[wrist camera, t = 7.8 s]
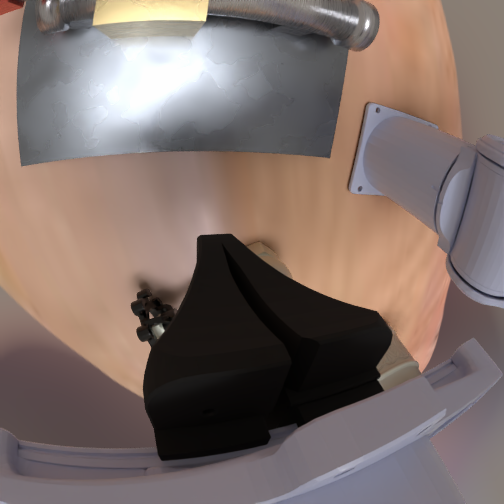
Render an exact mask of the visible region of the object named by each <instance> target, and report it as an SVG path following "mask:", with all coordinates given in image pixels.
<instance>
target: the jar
mask: <svg viewBox="0 0 504 504" xmlns="http://www.w3.org/2000/svg"><path fill="white" fill-rule="evenodd" d="M386 324H387V323H386ZM387 325H388V324H387ZM388 326H389V325H388ZM389 327H390V329H391V330H392V334H393V337H392V341H391V345H390V346H389V348H388V350H387V352H386V353H385V355H384V356H383V358H382V359H381V361H380V362H379V364H378V365H377V367H376V368H377V369H378V371H379V372H380V375H381V377H380V378H379V379H377V380H378V381H379V383H380V384H381V386H382V388H383V389H384V391H386V390H388V389H390V388H392V387H395V386H397V385H399V384H401V383H403V382H405V381H407V380H410V379H412V378H415V377H417V376H419V375H421V372H420V371H419V369H418V368H419V364H418V362H417V361H415V360H414V358H413V357H412V356H411V354H410V353H409V352H408V350H407V349H406V348H405V346H404V345H403V344H402V342H401V341H400V340H399V338H398V337H397V335H396V332H395V331H394V330H393V328H392V327H391V326H389Z"/></svg>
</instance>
